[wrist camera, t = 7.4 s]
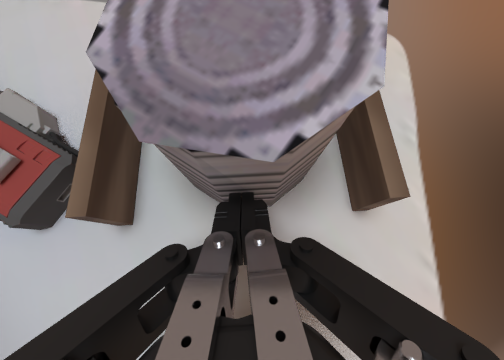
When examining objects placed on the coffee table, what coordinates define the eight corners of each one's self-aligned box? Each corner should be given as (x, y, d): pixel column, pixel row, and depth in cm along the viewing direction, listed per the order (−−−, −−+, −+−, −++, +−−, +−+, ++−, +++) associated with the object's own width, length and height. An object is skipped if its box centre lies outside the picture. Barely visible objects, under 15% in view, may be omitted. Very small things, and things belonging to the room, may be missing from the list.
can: (336, 157, 19) (466, 17, 7) (235, 241, 17) (194, 229, 5) (255, 77, 21) (256, -116, 10) (159, 140, 19) (23, -12, 8)
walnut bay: (112, 225, 17) (58, 217, 12) (135, 60, 22) (103, 9, 17) (371, 209, 17) (417, 196, 12) (334, 49, 22) (356, -4, 18)
